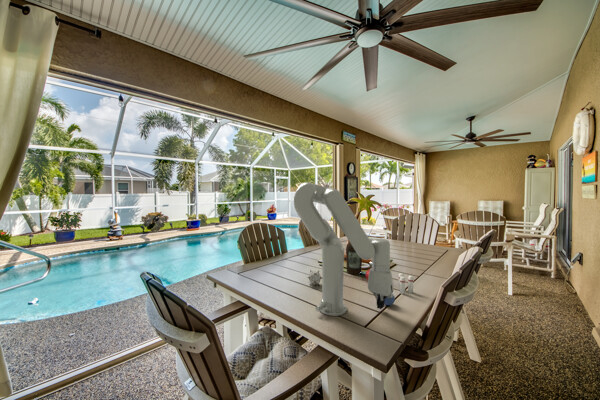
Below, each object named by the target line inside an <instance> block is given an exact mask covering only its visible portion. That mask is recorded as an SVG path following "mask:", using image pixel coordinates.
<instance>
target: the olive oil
mask: <svg viewBox="0 0 600 400" xmlns="http://www.w3.org/2000/svg"><path fill="white" fill-rule="evenodd" d="M345 255H346V256H345V258H346V259H345V261H346V273H347V274H349V275H351V276H353V275H354V276H355V275H356V276H358V275H360V274H359V273H360V272H361V273H362V269H363V267H362V266H363V264H362V261H363V259H361V258H360V257H359V256H358V254H357V253H356V251H355V250H354V248H353V246H352V245H351V243H350V242H348V243H347V244H346V248H345Z"/></svg>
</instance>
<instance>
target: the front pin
mask: <svg viewBox="0 0 600 400" xmlns="http://www.w3.org/2000/svg"><path fill="white" fill-rule="evenodd" d="M399 294H400V295H405V294H406V277H405V276H404V277H400V290H399Z"/></svg>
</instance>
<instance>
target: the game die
mask: <svg viewBox="0 0 600 400" xmlns="http://www.w3.org/2000/svg"><path fill="white" fill-rule="evenodd" d="M307 279H308V280H309V284H310V286H312V285H318V286H320V282H321V281H322V275H321V274H320V270H317V271H316V270H315V271H313V270H311V269H310V273H309V274H308V276H307Z"/></svg>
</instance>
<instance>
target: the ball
mask: <svg viewBox="0 0 600 400" xmlns="http://www.w3.org/2000/svg"><path fill="white" fill-rule="evenodd" d="M392 295H393V297H392V298H386V299H385V301H384V305H386V306H392V305H393V304H394V303H395V300H396V298H395V295H394V294H393V293H392Z"/></svg>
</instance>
